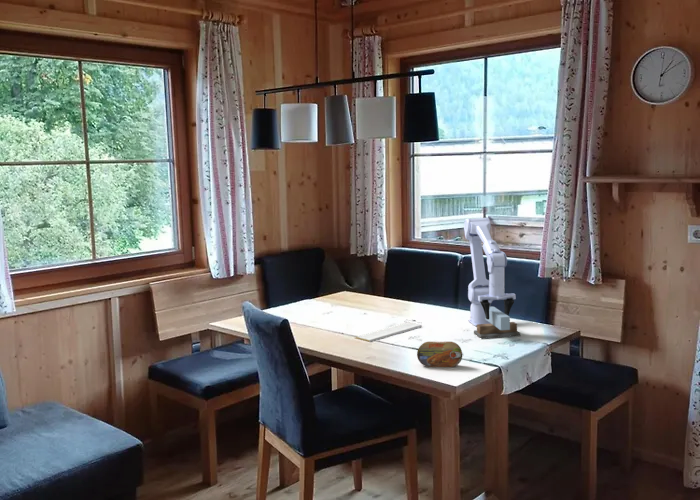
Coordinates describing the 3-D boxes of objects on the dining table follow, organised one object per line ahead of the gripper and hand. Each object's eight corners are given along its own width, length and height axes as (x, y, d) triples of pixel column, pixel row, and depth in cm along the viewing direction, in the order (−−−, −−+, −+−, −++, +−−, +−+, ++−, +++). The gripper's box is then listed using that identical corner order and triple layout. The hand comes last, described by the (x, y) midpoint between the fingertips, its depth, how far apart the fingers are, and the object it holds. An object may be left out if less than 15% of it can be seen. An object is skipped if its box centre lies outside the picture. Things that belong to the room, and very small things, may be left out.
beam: (485, 319, 272) (484, 307, 271) (493, 318, 272) (493, 306, 271) (500, 330, 254) (500, 317, 253) (509, 329, 254) (509, 316, 254)
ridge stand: (480, 338, 259) (480, 328, 258) (473, 333, 267) (473, 323, 266) (520, 335, 261) (520, 325, 260) (512, 330, 269) (512, 320, 268)
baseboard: (351, 339, 267) (369, 343, 260) (351, 332, 266) (369, 336, 259) (404, 324, 287) (421, 328, 280) (404, 317, 286) (421, 321, 279)
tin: (417, 366, 228) (416, 342, 227) (417, 363, 231) (417, 339, 230) (462, 367, 225) (462, 343, 224) (462, 364, 228) (462, 340, 227)
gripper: (482, 286, 256) (482, 321, 258) (518, 284, 258) (518, 319, 260) (476, 283, 263) (476, 317, 265) (511, 281, 265) (511, 315, 267)
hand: (496, 318), depth 263 cm, fingers open, 7 cm apart
